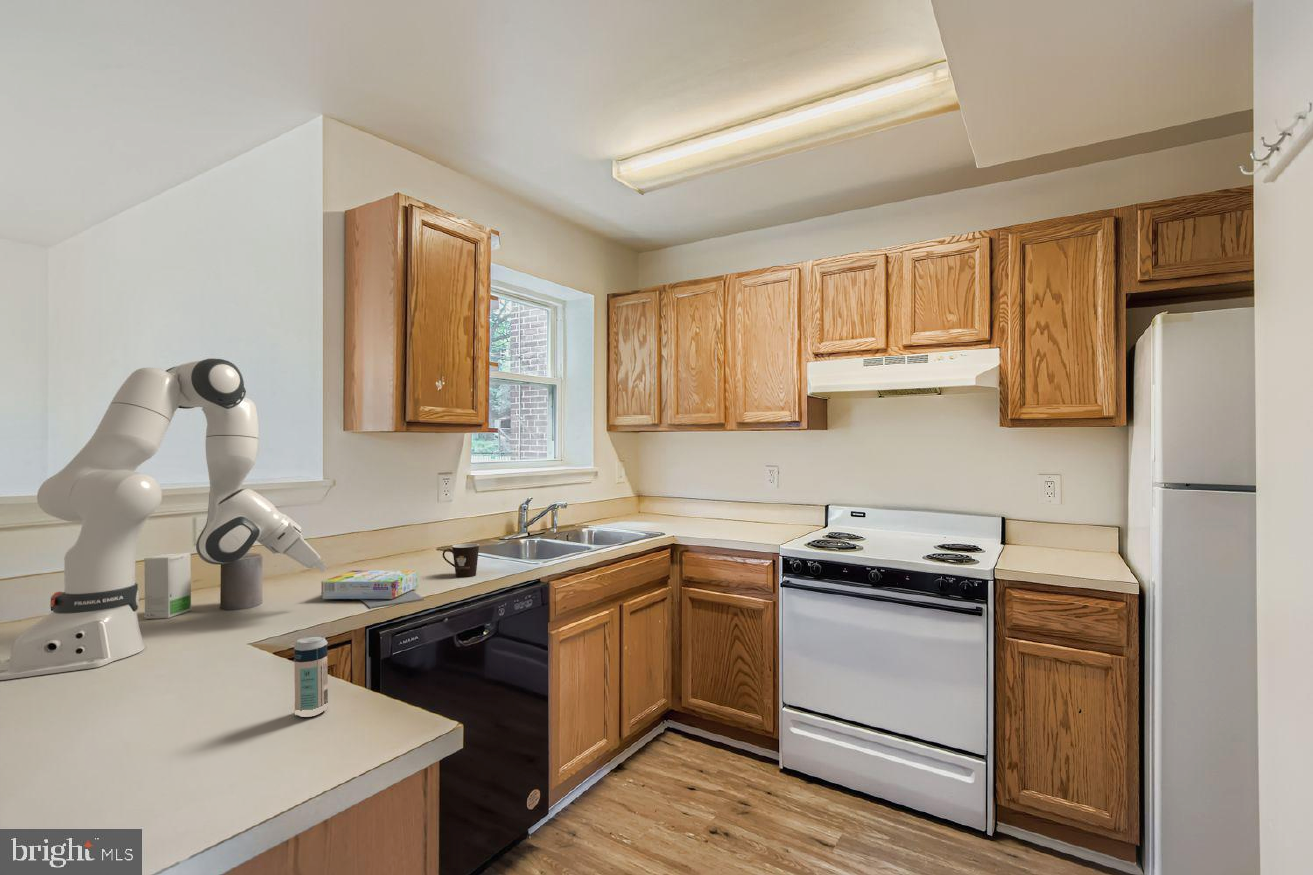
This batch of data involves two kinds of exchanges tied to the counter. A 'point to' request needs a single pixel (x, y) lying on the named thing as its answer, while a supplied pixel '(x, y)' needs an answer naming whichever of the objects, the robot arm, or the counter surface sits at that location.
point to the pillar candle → (241, 583)
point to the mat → (393, 600)
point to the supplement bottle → (311, 673)
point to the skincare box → (167, 585)
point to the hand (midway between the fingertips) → (325, 569)
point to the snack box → (369, 585)
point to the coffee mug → (464, 559)
